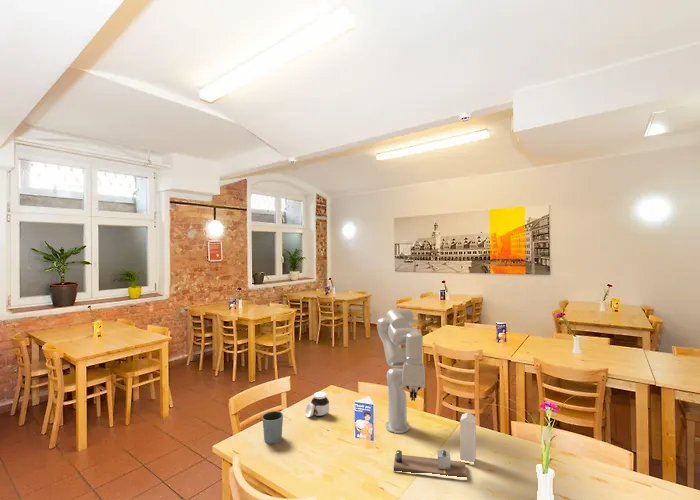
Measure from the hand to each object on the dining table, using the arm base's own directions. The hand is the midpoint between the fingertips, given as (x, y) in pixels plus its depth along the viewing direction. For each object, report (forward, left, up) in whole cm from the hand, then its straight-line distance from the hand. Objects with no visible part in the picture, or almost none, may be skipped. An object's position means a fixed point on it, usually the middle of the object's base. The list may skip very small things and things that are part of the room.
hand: (413, 399), depth 164 cm
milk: (-1, +24, -26) cm, 36 cm away
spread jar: (-29, -55, -26) cm, 67 cm away
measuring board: (+9, +7, -26) cm, 28 cm away
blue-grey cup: (0, -69, -26) cm, 74 cm away
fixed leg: (+9, -6, -24) cm, 26 cm away
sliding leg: (+9, +13, -23) cm, 28 cm away
